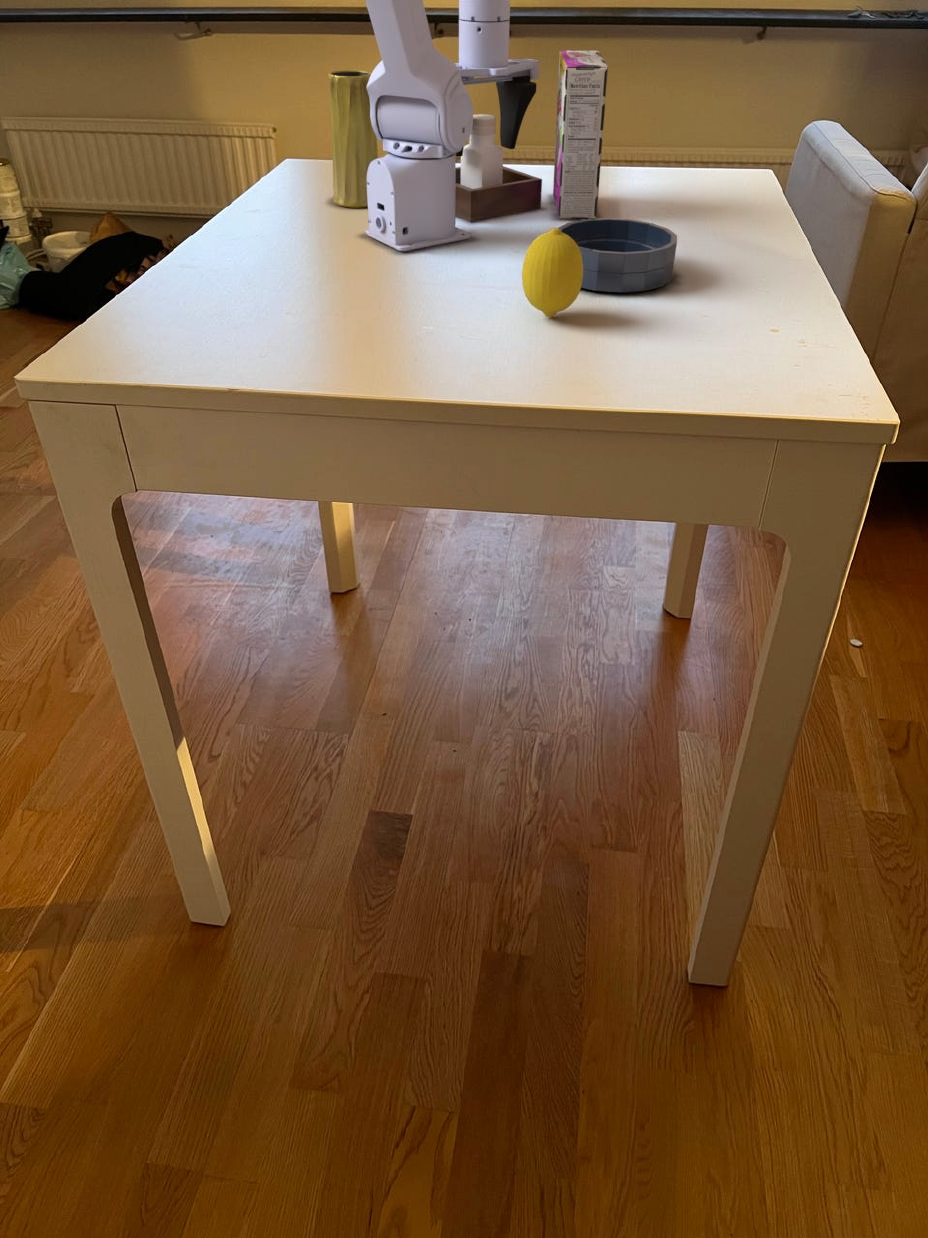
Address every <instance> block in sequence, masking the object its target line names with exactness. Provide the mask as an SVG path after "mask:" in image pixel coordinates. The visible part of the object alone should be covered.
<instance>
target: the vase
mask: <svg viewBox="0 0 928 1238" xmlns="http://www.w3.org/2000/svg"><path fill="white" fill-rule="evenodd" d="M371 74H372V72H371V71H369V70H364V69H363V70H362V69H339V70H333V71H329V72H328V74H327V75H328V76H327V77H328V78H327V79H328V87H329V88H328V91H329V110H330V111H329V112H330V132H331V133H330V134H331V159H332V186H333V187H332V188H333V199H332V201H333V202H334V204H335V205H337V206H339V207H343V208H350V209H351V208H352V209H357V208H358V209H361V208H368V201H367V171H368V167H369V165H370V163H371V162H372V161H373V160H375V159H378V158H379V151H378V150H379V149H378V138H377V136H376V135H375V132H374V130H373V127H372V124H371V118H370V99H369V94H368V91H367V84H368V81H369V78H370V76H371Z"/></svg>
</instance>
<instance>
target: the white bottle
mask: <svg viewBox="0 0 928 1238" xmlns="http://www.w3.org/2000/svg"><path fill="white" fill-rule="evenodd" d="M496 121H497V117H496V116H495V115H492V114H486V113H485V114H484V113H482V114H480V113H479V114H478V113H477V114H473V124H472V130H471V133H470V136H469V143H468V144H466V145H464V148H463V155H462V156H460V167H461V183H460V185H463V186H466V187H468V188H471V189H476V188H482V187H488V186H494V185H500V184H502V175H503V166H504V150H503V147H502V146H499V145H498V144H495V143H496V134H497V133H496V124H497V122H496Z"/></svg>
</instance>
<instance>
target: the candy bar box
mask: <svg viewBox="0 0 928 1238" xmlns="http://www.w3.org/2000/svg"><path fill="white" fill-rule="evenodd" d="M558 57H559V60H558V76H557V79H558V80H557V98H556V99H557V101H556V117H555V118H556V119H555V121H556V123H555V143H554V164H553V186H552V188H553V189H552V195H553V196H552V197H553V200H554V205H555V209H556V213H557V218H558V219H559V220H564V221H565V220H568V221H569V220H571V221H573V220H575V221H579V220H584V219H598V217H597V216H598V204H599V203H598V202H599V191H600V179H601V166H602V165H601V164H602V148H603V138H604V137H603V136H604V125H605V124H604V123H605V113H606V95H607V84H608V72H609V66H608V65H607V63H606V61H605V60H604V58H603V56H602V55H601V52H600V51H599V50H583V49H580V50H579V49H577V50H572V49H568V50H561V51H559V56H558Z"/></svg>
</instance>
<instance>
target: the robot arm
mask: <svg viewBox="0 0 928 1238" xmlns="http://www.w3.org/2000/svg"><path fill="white" fill-rule="evenodd" d="M364 2H365V5H366V9H367V11H368V15H369V19H370V22H371V26H372V29H373V33H374V36H375V40H376V42H377V47H378V51H379V54H380V57H381V60H380V62H378V64H377V65H375V67H374V69H373V70H372V72H371V73H372V74H371V76H370V78H369V81H368V84H367V91H368V94H369V99H370V118H371V124H372V127H373V130H374V132H375V135H376V138H377V140H378V141H379V142H381V143H382V151H383V152H388V153H386V154H385V155H384V156H382V157H378V159H375V160H373V161H372V162H371V163H370V165H369V167H368V171H367V201H368V207H367V217H368V218H367V219H368V229H366V230H365V235H366V236H368V237H370V238H373V239H374V240H376V241H378V242H381V243H383V244H384V245H387V246H388V247H391V248H393V249H395V250H397V251H399V252H407V251H412V250H417V249H422V248H428V247H432V246H437V245H442V244H447V243H453V242H457V241H462V240H467V239H471V238H472V234H471V232H468V231H466V230H463V229H461V228H459V227H457V226H456V216H455V176H456V168H457V167H456V165H457V164H456V157H457V158H458V157H461V156H462V155H463V148H464V146H466V145H465V144H466V143H467V142H468V140H469V139H470V133H471V130H472V124H473V115H474V106H473V100H472V97H471V96H470V93H469V91H468V88H466V86H471V85H480V84H481V85H482V84H489V83H492V84H493V83H495V85H496V86H495V87H496V90H497V95H498V104H499V111H500V112H499V116H500V118H499V121H500V123H499V140H500V141H499V142H500V147H501V148H505V149H508V150H515V149H516V145H517V140H518V136H519V132H520V130H521V126H522V122H523V120H524V118H525V114H526V112H527V110H528V108H529V105H530V104H531V101H532V100H533V98H534V96H535V95H536V93H537V83H536V82H533V80H538V79H539V69H540V61H539V60H537V59H532V58H520V59H519V58H518V59H509V54H510V53H509V52H510V20H511V0H458V62H454V63H453V62H452V61H451V60H450V59H449V58H447V57H446V56H445V55H444V54H442V53H441V52H440V51H439V50H438V49H437V48H435V47H434V43H433V38H432V34H431V30H430V25H429V21H428V16H427V13H426V9H425V4H424V1H423V0H365V1H364ZM531 80H532V81H531Z"/></svg>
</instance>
